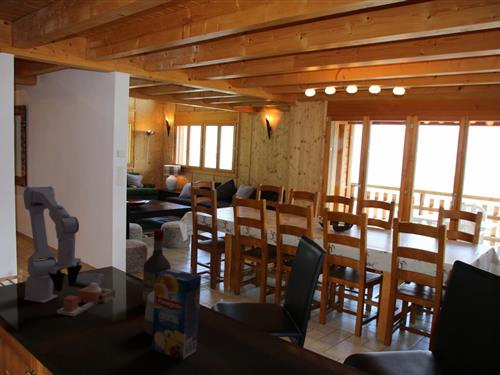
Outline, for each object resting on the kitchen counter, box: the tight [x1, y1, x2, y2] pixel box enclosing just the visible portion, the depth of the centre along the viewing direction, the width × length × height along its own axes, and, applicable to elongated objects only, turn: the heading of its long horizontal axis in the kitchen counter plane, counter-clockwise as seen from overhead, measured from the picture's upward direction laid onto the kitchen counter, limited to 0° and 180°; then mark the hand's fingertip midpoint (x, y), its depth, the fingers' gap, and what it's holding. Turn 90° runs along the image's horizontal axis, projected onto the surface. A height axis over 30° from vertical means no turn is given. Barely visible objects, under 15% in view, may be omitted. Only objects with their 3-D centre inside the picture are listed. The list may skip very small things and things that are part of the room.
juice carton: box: [151, 268, 202, 361], centre depth 132 cm, size 12×8×24 cm, turn 62°
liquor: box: [141, 229, 172, 309], centre depth 167 cm, size 9×9×30 cm
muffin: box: [86, 282, 102, 298], centre depth 170 cm, size 6×6×7 cm
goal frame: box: [81, 286, 116, 304], centre depth 172 cm, size 12×7×3 cm, turn 76°
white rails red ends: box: [56, 288, 99, 317], centre depth 160 cm, size 8×14×5 cm, turn 166°
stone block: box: [75, 272, 106, 288], centre depth 189 cm, size 12×5×10 cm
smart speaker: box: [143, 291, 155, 337], centre depth 143 cm, size 10×9×14 cm
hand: (65, 287), depth 155 cm, fingers open, 7 cm apart
